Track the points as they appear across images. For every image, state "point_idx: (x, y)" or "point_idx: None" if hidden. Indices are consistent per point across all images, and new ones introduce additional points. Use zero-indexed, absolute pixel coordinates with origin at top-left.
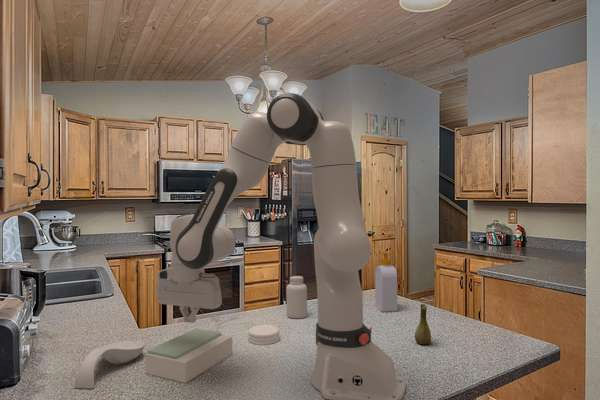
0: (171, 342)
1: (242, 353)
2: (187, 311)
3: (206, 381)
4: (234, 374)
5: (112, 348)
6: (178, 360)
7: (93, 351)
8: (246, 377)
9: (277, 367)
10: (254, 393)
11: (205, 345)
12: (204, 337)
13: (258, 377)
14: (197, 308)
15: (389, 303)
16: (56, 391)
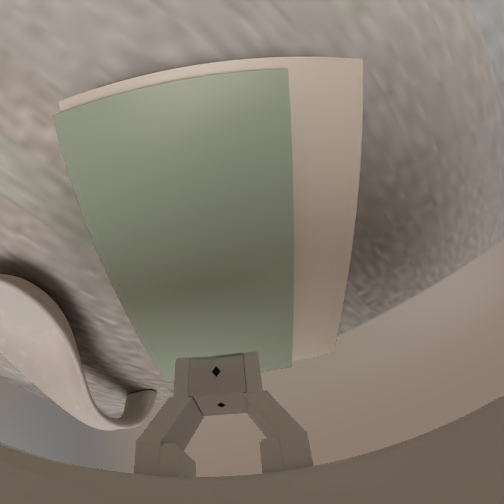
0: (156, 320)
1: (362, 38)
2: (180, 422)
3: (364, 276)
4: (418, 209)
5: (94, 409)
6: (302, 357)
7: (95, 426)
8: (451, 208)
9: (499, 119)
10: (475, 255)
11: (304, 237)
12: (245, 195)
13: (474, 194)
14: (306, 448)
15: None
16: (120, 406)
